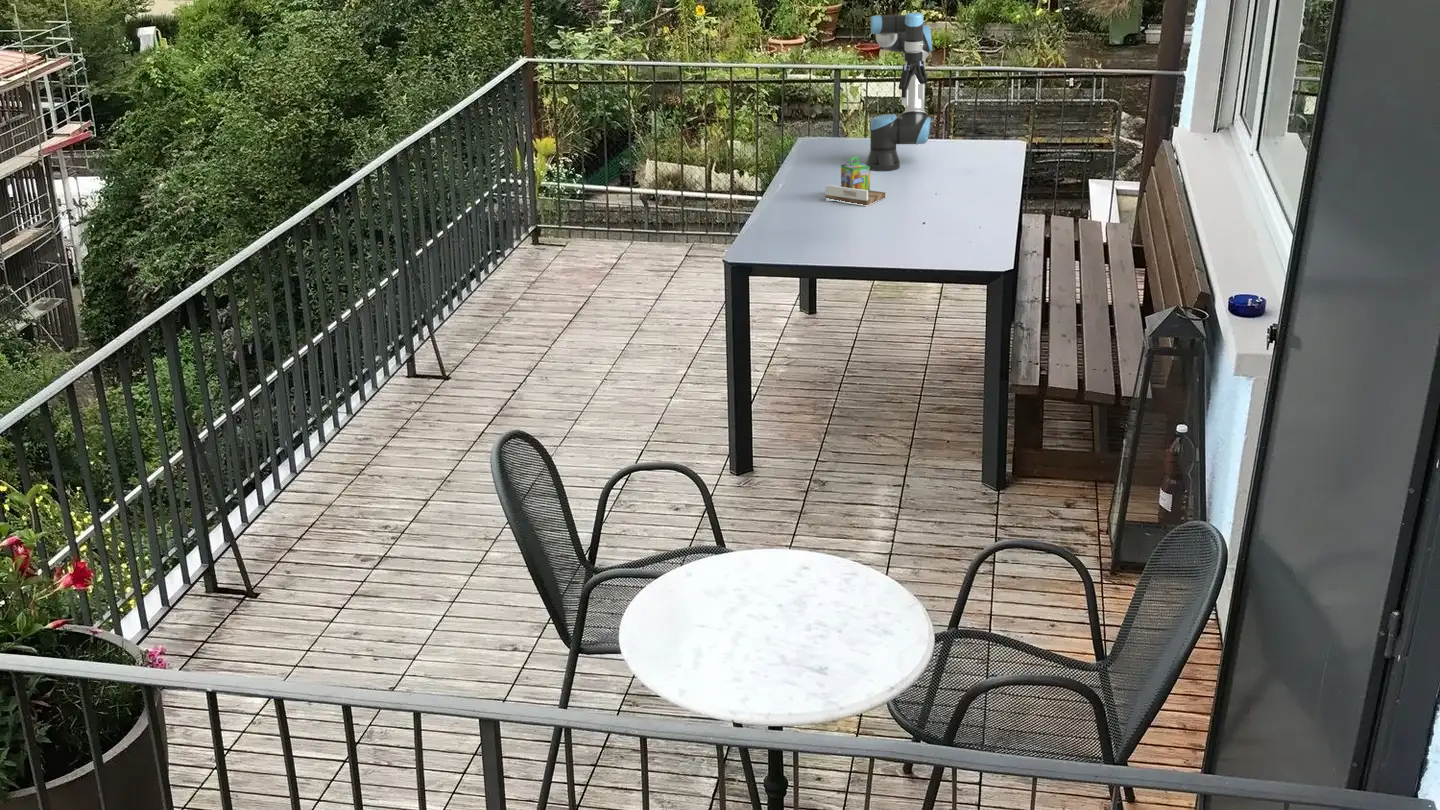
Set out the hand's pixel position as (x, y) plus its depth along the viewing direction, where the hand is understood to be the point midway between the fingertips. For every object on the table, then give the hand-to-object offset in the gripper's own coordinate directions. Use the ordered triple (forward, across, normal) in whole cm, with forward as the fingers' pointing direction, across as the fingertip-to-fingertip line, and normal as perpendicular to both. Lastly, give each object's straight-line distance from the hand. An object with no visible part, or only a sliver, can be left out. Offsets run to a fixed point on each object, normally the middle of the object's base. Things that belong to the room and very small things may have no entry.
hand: (912, 102), depth 574 cm
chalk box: (+32, -34, +7) cm, 48 cm away
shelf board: (+34, -36, +6) cm, 50 cm away
